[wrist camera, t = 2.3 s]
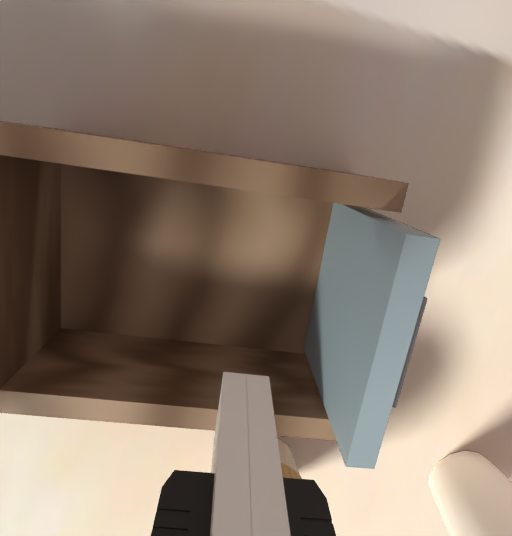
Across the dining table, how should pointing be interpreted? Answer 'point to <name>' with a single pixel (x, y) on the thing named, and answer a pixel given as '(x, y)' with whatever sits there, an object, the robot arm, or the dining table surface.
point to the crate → (160, 277)
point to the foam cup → (472, 495)
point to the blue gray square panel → (366, 323)
